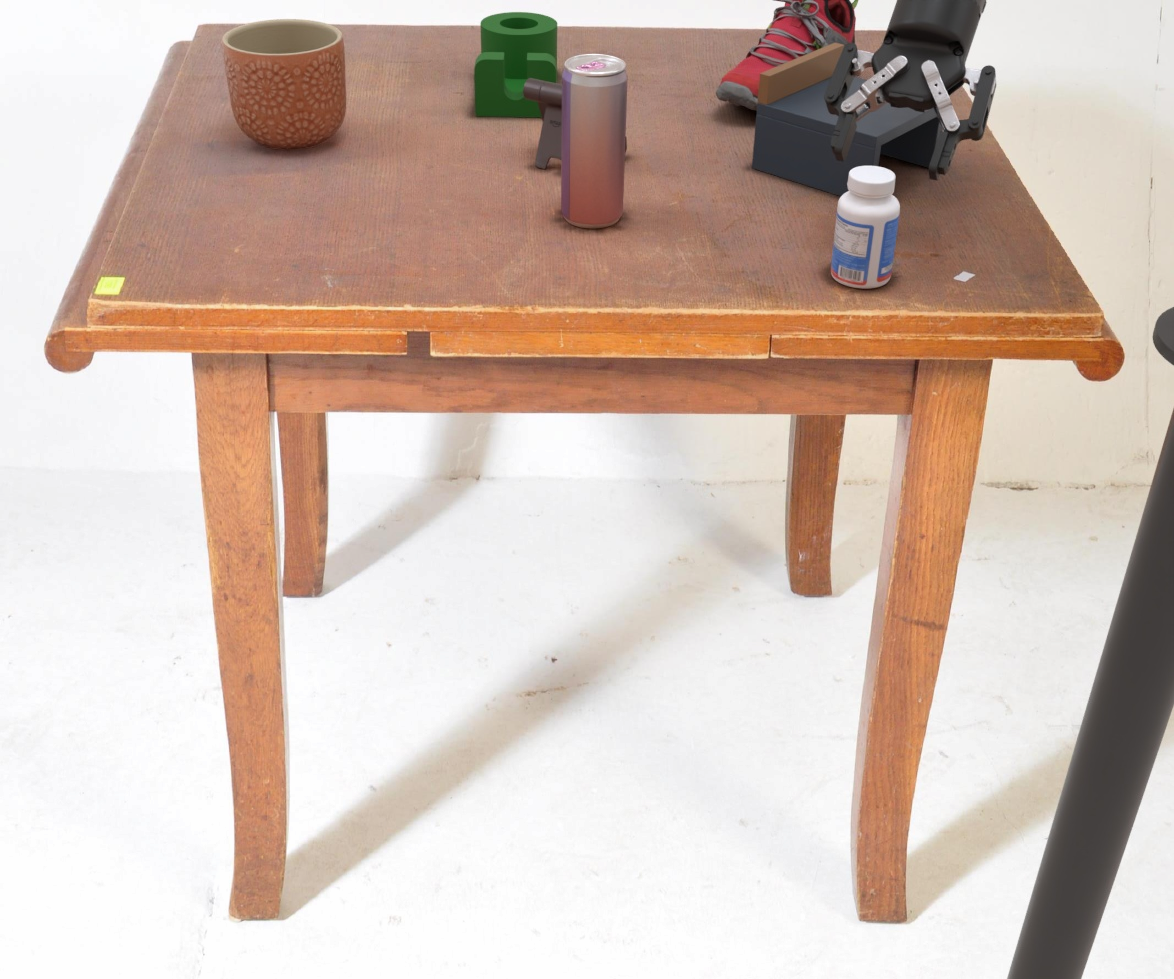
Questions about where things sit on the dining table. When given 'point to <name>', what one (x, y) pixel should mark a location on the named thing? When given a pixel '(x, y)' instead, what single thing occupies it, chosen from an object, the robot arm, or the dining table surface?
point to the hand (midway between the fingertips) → (885, 166)
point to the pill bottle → (866, 229)
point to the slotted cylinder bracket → (513, 62)
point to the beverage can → (593, 140)
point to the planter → (286, 81)
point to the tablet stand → (548, 118)
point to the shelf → (829, 126)
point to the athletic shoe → (789, 43)
